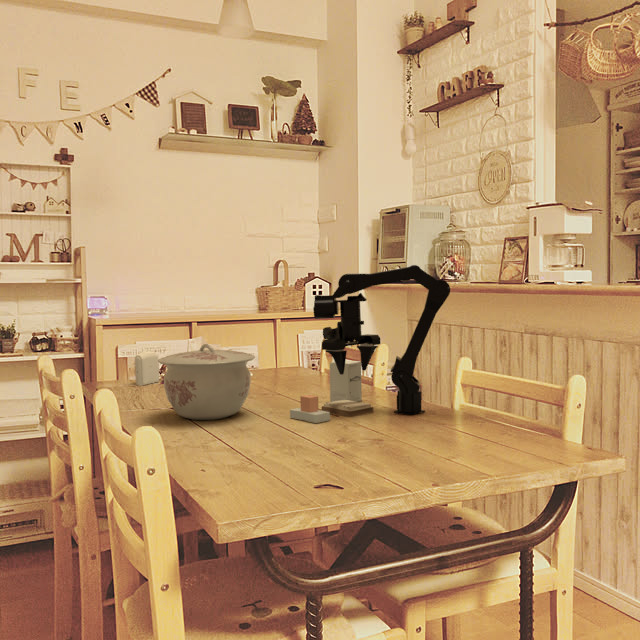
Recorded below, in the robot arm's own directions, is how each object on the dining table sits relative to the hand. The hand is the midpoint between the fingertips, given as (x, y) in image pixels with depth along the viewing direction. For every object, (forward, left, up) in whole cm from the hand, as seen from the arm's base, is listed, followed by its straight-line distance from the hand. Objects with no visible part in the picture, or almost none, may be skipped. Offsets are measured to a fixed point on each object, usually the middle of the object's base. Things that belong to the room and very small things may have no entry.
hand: (352, 372), depth 195 cm
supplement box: (+14, -10, -12) cm, 21 cm away
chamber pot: (+28, +31, -12) cm, 43 cm away
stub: (+2, +15, -11) cm, 19 cm away
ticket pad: (+2, +1, -12) cm, 12 cm away
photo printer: (+98, +14, -12) cm, 100 cm away
